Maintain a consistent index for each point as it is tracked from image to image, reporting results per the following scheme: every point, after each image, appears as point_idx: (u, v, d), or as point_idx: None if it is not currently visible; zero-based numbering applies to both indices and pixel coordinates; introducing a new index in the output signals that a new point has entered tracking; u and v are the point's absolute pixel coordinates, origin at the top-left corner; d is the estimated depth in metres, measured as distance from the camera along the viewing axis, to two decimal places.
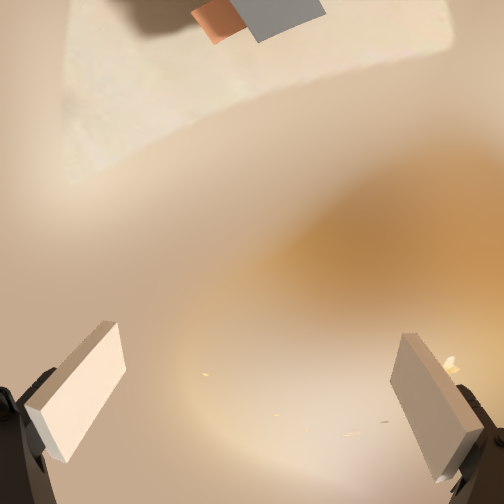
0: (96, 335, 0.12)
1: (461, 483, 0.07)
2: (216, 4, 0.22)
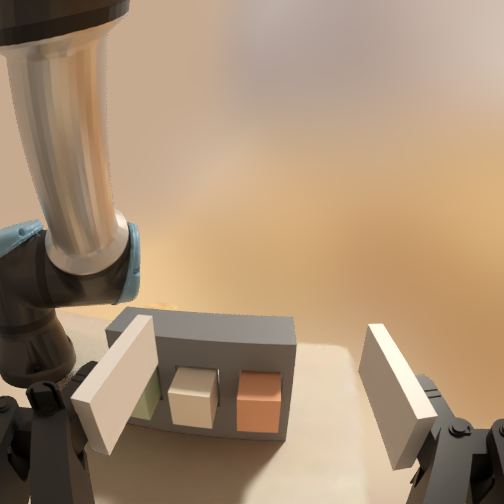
0: (133, 328, 0.13)
1: (419, 474, 0.08)
2: (246, 384, 0.29)
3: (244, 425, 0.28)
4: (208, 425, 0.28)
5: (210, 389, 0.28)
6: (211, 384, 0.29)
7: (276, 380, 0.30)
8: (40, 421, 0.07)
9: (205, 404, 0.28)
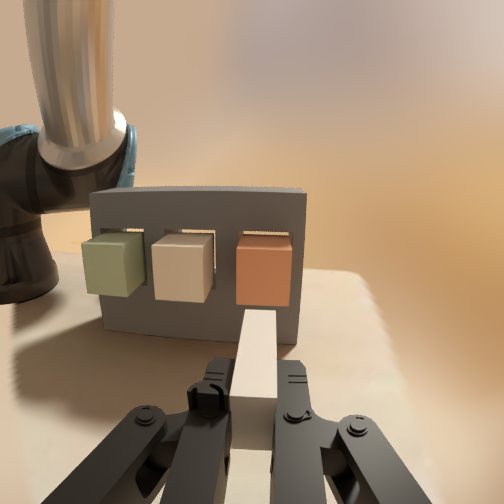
0: (250, 322, 0.14)
1: (273, 464, 0.09)
2: (247, 241, 0.26)
3: (245, 294, 0.24)
4: (199, 297, 0.25)
5: (204, 243, 0.25)
6: (205, 241, 0.26)
7: (284, 240, 0.26)
8: (195, 422, 0.08)
9: (196, 260, 0.24)
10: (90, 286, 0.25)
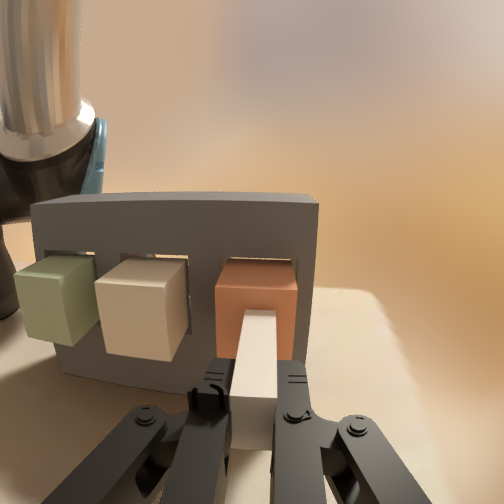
0: (250, 322, 0.14)
1: (273, 464, 0.09)
2: (233, 272, 0.18)
3: (230, 349, 0.17)
4: (164, 354, 0.17)
5: (168, 279, 0.17)
6: (172, 274, 0.17)
7: (286, 269, 0.19)
8: (195, 422, 0.08)
9: (156, 304, 0.16)
10: (29, 328, 0.17)
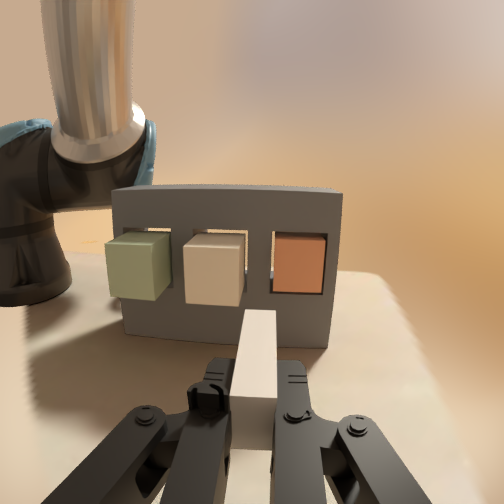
0: (250, 322, 0.14)
1: (273, 464, 0.09)
2: (282, 233, 0.28)
3: (282, 281, 0.27)
4: (234, 300, 0.24)
5: (239, 244, 0.24)
6: (240, 241, 0.25)
7: None
8: (195, 422, 0.08)
9: (232, 261, 0.23)
10: (114, 289, 0.24)
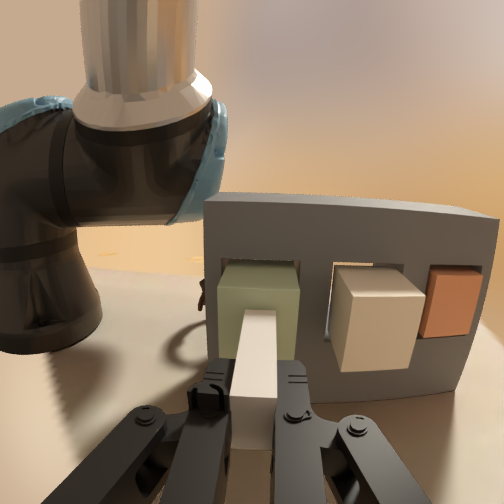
0: (250, 322, 0.14)
1: (273, 464, 0.09)
2: (430, 264, 0.20)
3: (435, 325, 0.19)
4: (404, 362, 0.16)
5: (415, 288, 0.16)
6: (409, 282, 0.16)
7: None
8: (195, 422, 0.08)
9: (414, 314, 0.15)
10: (226, 352, 0.17)
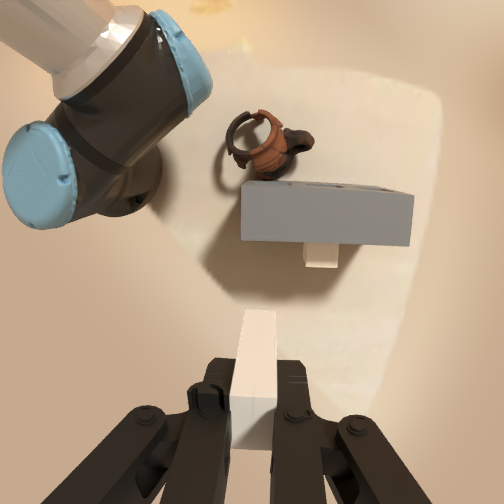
0: (250, 322, 0.14)
1: (273, 464, 0.09)
2: None
3: None
4: None
5: (337, 258, 0.40)
6: (337, 252, 0.39)
7: None
8: (195, 422, 0.08)
9: None
10: None
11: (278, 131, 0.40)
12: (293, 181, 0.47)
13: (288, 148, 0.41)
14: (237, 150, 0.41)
